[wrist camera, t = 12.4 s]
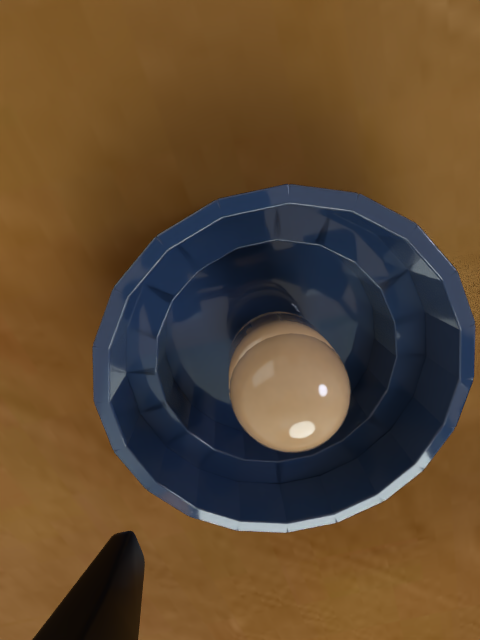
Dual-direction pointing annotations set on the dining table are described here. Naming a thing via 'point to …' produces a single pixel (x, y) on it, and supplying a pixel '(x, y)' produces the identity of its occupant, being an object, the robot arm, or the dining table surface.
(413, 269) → the bowl
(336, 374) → the beige rounded peg
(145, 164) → the dining table surface
